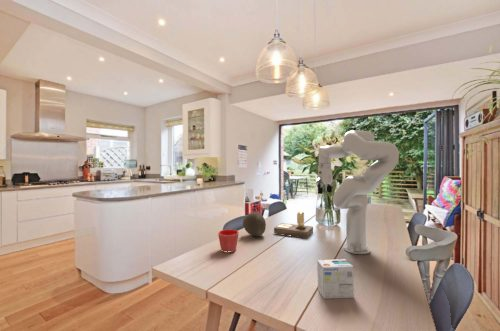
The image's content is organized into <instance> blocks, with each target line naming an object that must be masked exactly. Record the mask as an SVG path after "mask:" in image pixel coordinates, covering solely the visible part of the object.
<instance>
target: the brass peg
mask: <svg viewBox="0 0 500 331" xmlns="http://www.w3.org/2000/svg"><path fill="white" fill-rule="evenodd" d="M296 216H297V217H296V218H297V222H296V223H297V225H298V229H302V230H304V226H305V213H304V212H302V211H298V212H297V214H296Z"/></svg>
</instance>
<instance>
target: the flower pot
mask: <svg viewBox="0 0 500 331" xmlns="http://www.w3.org/2000/svg"><path fill="white" fill-rule="evenodd" d="M217 235H218V239H219V240H218V241H219V245H220V250H223V251H227V252H228V251H234V250H235V251H237V247H238V246H237V245H238V240H239V230H236V229H222V230H219V231H218V233H217ZM235 251H234V252H235Z"/></svg>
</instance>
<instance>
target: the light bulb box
mask: <svg viewBox="0 0 500 331" xmlns="http://www.w3.org/2000/svg"><path fill="white" fill-rule="evenodd" d="M316 263H317V264H316V265H317V289H318V291H319V293H320V295H321V296H322V298H323V299H352V298H355V292H354V291H355V286H354V285H355V284H354V283H355V282H354V281H355V278H354V265H352V264H351V263H350V261H348V260H347V259H346V258H336V259H317V261H316Z"/></svg>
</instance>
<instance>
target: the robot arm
mask: <svg viewBox="0 0 500 331" xmlns="http://www.w3.org/2000/svg"><path fill="white" fill-rule="evenodd" d="M352 155H355V156H356V157H358V158H359V159H360V160H361V159H362V160H365V161H375V162H373V163H371V164H370V165H369V166H368V167H367V168H366V170H364V172H363V173H362V174H359V175H349V176H347V177H345V178H344V179H343V180H342V182H341V183H340V184H339V186H338V188H337V189H336V191H335V192H334V194H333V197H332V202H333V205H334V206H335V207H336V208H337V209H339V210H347V212H346V215H345V219H346V224H345V225H346V226H345V227H346V228H345V229H346V244H344V245H343V250H344V251H345V252H348V253H350V254H356V255H366V254H367V255H368V254H370V253H371V249H370V247H368V246H367V243H368V242H367V209H368V203H369V196H368V195H371V194H373V193H374V192H375V191H376V189H377V188H378V187H379V186H380V185H381V183H382V182H383V181H384V180H385V178H386V177H388V175H389V174H390V173H392V171H393V170H394V169H395V168H396V166H397V164H398V162H399V158H400V153H399V149H398V147H397V146H396V144H394V143H392V142H391V141H390V142H389V141H383V140H380V141H379V140H377V141H375V135H374V134H373V133H372V132H371V131H368V130H349V131H347V132H346V133H345V134H344V136H343V140H342V142H341V145H335V144H334V145H325V146H319V147H318V169H317V179H316V180H315V184H316V185H315V186H316V187H317V194H318V195H323V193H324V191H323V186H324V185H326V193H332V192H333V191H332V187H333V182H334V178H333V169H332V159H344V158H347V157H350V156H352Z"/></svg>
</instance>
